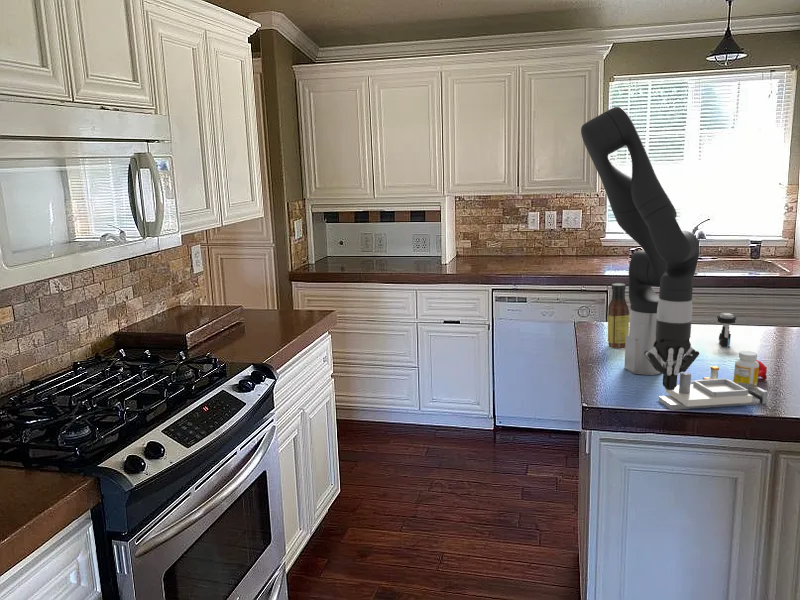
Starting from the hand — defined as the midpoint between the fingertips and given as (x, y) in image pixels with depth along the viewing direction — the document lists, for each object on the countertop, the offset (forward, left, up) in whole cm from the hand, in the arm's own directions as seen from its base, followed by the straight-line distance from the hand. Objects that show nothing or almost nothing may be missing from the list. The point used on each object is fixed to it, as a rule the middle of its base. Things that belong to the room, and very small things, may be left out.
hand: (669, 388), depth 156 cm
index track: (+11, +3, -4) cm, 12 cm away
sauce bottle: (+10, +50, -4) cm, 51 cm away
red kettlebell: (+30, +13, -4) cm, 33 cm away
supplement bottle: (+24, +7, -4) cm, 25 cm away
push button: (+43, +46, -4) cm, 63 cm away
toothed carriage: (+10, 0, -3) cm, 10 cm away
